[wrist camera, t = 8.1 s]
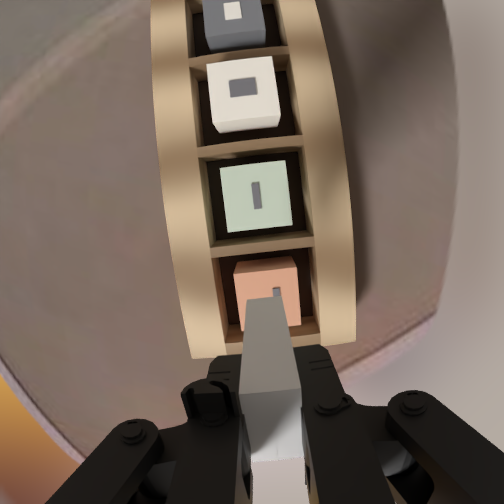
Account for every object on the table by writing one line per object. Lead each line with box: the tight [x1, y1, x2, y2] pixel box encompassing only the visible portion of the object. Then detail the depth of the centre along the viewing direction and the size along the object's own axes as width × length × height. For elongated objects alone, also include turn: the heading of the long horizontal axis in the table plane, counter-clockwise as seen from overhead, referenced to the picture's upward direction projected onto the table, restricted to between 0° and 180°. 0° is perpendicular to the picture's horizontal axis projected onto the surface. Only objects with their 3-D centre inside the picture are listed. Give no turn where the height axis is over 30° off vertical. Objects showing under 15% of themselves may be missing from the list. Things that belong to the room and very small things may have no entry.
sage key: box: [220, 160, 292, 232], centre depth 19 cm, size 4×4×3 cm
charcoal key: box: [202, 0, 266, 54], centre depth 16 cm, size 4×4×3 cm
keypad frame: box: [151, 0, 356, 359], centre depth 19 cm, size 26×11×3 cm, turn 7°
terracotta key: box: [233, 256, 301, 331], centre depth 20 cm, size 4×4×3 cm
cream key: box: [206, 56, 281, 134], centre depth 17 cm, size 4×4×3 cm
